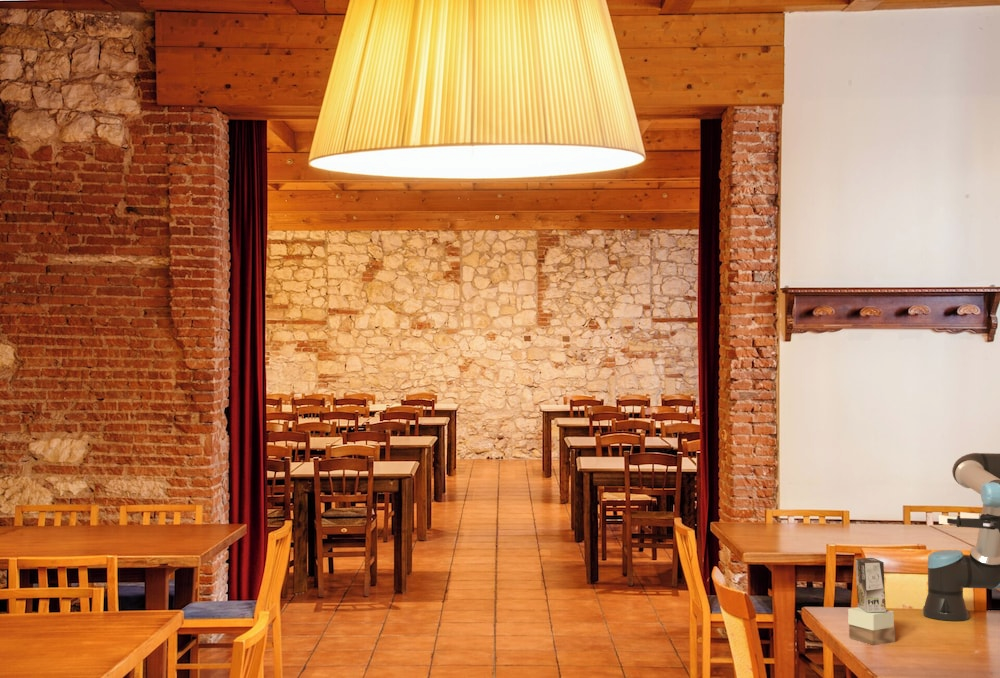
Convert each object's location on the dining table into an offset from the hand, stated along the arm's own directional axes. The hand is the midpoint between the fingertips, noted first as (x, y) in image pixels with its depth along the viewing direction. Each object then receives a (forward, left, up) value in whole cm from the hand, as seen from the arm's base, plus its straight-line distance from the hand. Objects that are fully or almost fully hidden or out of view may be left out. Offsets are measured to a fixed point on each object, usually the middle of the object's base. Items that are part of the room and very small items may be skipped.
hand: (950, 517), depth 342 cm
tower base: (+24, -10, -40) cm, 48 cm away
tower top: (+24, -10, -35) cm, 44 cm away
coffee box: (+24, -10, -30) cm, 40 cm away
